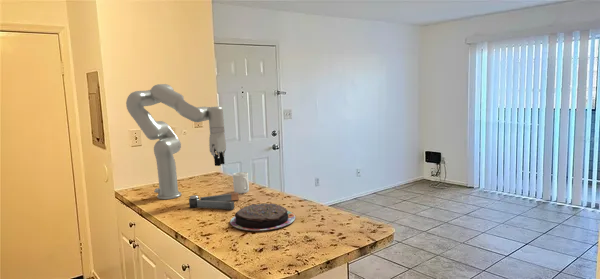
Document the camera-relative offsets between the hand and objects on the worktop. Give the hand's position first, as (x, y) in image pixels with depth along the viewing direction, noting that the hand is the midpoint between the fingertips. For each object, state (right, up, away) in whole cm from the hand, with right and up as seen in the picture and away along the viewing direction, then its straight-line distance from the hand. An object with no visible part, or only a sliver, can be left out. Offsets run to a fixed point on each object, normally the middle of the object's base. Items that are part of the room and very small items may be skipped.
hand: (219, 164), depth 214 cm
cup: (+11, -16, +9) cm, 21 cm away
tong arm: (0, -19, -11) cm, 21 cm away
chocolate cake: (+26, -22, -40) cm, 53 cm away
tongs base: (0, -20, -17) cm, 26 cm away
